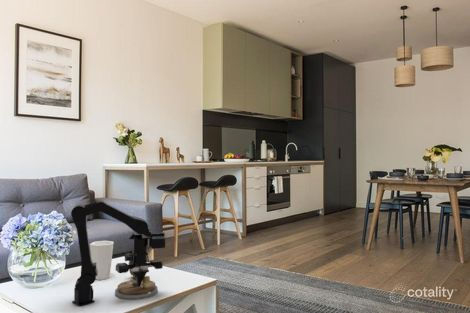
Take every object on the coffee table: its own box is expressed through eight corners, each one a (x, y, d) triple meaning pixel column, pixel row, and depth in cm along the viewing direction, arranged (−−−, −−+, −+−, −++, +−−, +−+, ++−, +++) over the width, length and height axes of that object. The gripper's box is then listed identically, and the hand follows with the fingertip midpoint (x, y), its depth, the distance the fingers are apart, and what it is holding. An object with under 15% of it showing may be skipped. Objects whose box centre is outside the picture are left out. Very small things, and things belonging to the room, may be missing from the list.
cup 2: (140, 281, 192) (140, 264, 192) (125, 280, 194) (125, 263, 194) (146, 276, 200) (146, 260, 200) (132, 275, 201) (132, 259, 201)
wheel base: (132, 303, 163) (132, 298, 163) (106, 293, 174) (106, 289, 174) (166, 291, 177) (166, 287, 177) (140, 283, 188) (140, 279, 188)
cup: (108, 281, 192) (108, 245, 192) (87, 281, 192) (87, 245, 192) (115, 274, 203) (115, 240, 203) (95, 274, 203) (95, 240, 203)
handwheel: (109, 289, 174) (109, 275, 174) (138, 280, 187) (138, 267, 187) (133, 297, 165) (133, 282, 165) (162, 287, 178) (162, 273, 178)
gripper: (154, 244, 182) (153, 279, 182) (112, 247, 172) (111, 284, 172) (163, 248, 172) (162, 285, 172) (119, 252, 163) (118, 291, 162)
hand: (138, 286), depth 170 cm, fingers closed
